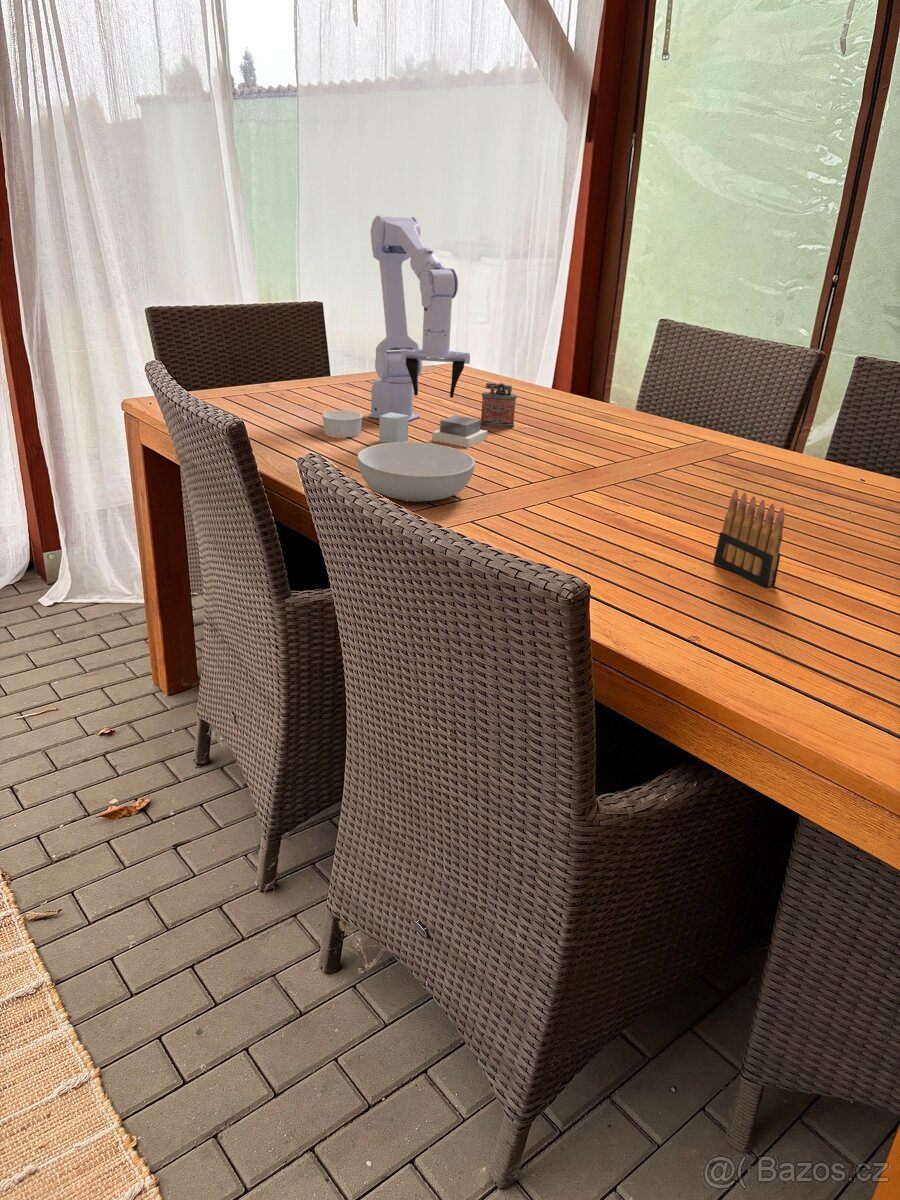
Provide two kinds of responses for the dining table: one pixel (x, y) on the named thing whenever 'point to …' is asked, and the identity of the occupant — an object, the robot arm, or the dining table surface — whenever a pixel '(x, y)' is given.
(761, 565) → the ammunition clip
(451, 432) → the gray slab
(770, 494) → the dining table surface
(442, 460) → the serving bowl
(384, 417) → the gray block
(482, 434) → the base slab
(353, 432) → the ramekin
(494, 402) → the lighter
